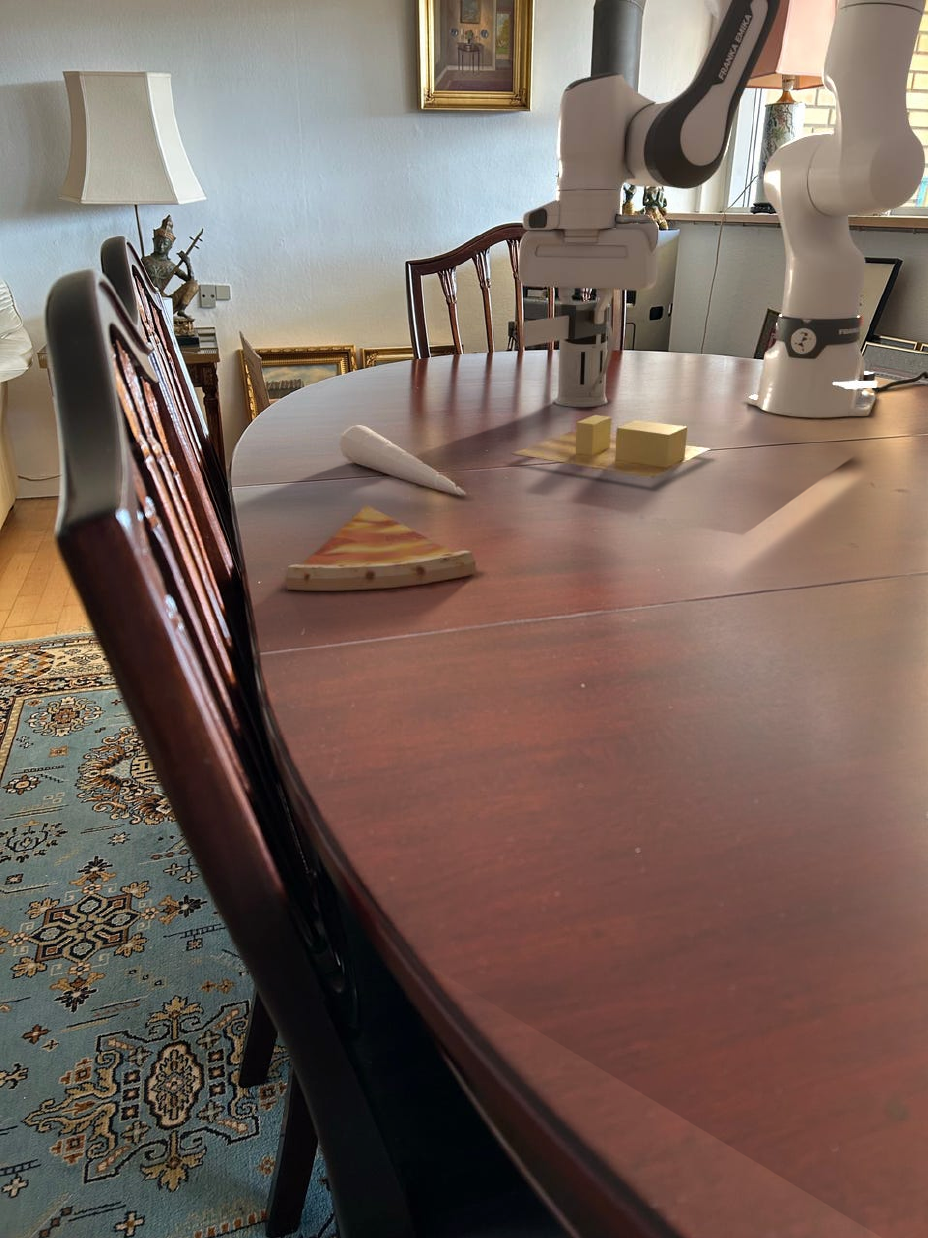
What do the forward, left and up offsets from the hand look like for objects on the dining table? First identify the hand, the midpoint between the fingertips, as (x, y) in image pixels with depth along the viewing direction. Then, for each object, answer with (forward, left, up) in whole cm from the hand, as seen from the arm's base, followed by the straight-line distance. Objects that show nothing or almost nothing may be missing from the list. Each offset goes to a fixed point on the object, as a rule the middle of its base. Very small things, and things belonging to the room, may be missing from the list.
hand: (584, 322), depth 125 cm
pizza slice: (+53, +12, -15) cm, 57 cm away
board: (+13, +12, -15) cm, 24 cm away
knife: (+6, 0, -2) cm, 6 cm away
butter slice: (+14, +10, -14) cm, 22 cm away
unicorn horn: (+33, -6, -15) cm, 37 cm away
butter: (+14, +18, -14) cm, 27 cm away
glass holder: (-17, -9, -15) cm, 24 cm away
